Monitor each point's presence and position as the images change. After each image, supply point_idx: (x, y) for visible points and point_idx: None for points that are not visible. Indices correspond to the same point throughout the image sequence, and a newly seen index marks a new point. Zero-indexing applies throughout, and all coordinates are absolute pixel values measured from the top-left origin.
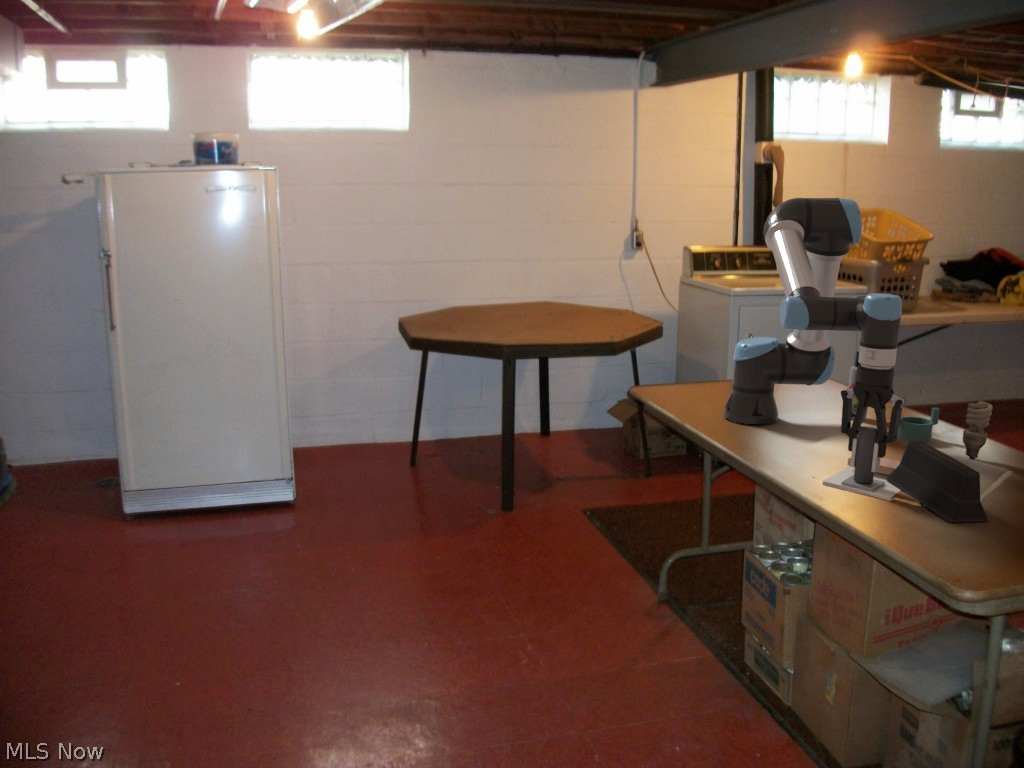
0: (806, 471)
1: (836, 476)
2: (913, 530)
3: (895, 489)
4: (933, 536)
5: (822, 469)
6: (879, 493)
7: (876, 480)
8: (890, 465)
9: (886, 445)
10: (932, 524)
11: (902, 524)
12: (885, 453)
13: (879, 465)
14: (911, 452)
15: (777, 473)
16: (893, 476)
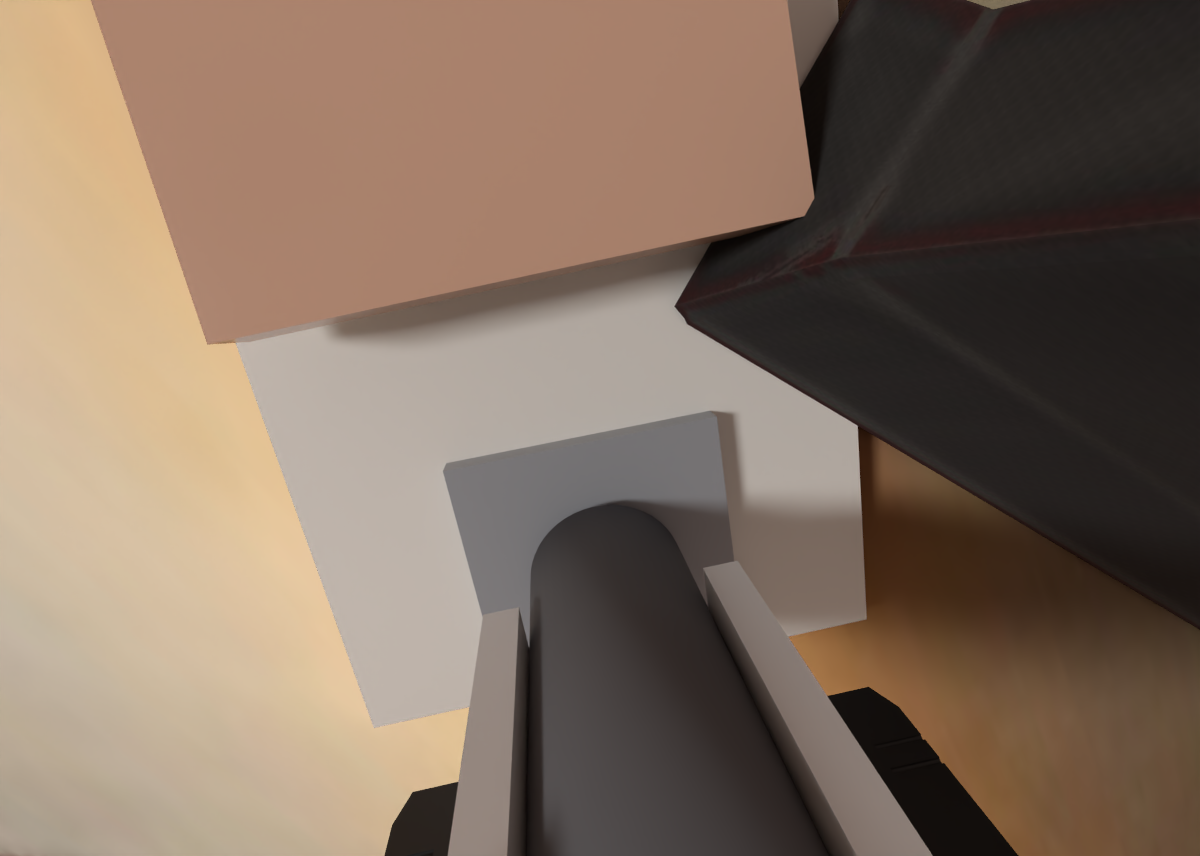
0: (73, 575)
1: (354, 563)
2: (1091, 846)
3: (822, 447)
4: (1181, 830)
5: (89, 415)
6: (778, 614)
7: (652, 442)
8: (637, 116)
9: (1004, 842)
10: (1148, 715)
11: (1029, 830)
12: (910, 726)
13: (754, 592)
14: (1190, 344)
15: (15, 788)
16: (762, 327)
